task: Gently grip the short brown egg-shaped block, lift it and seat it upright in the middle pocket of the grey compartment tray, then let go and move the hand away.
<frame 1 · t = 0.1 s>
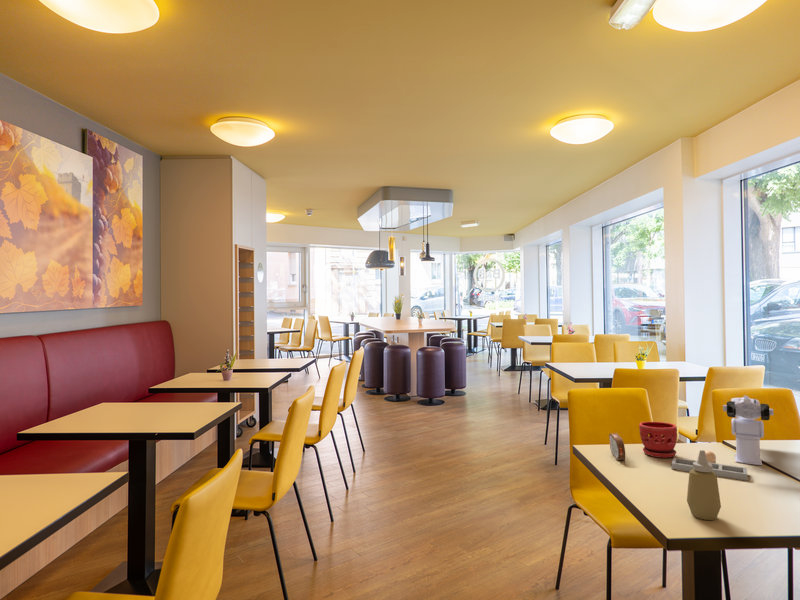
hand: (748, 412, 165), 22 cm above the table, tool horizontal, fingers open, 7 cm apart
plant pot: (658, 455, 190), on the table
tin: (617, 457, 187), on the table
egg: (709, 463, 179), on the table
grey compartment tray: (708, 471, 170), on the table
squeeze bottle: (703, 517, 133), on the table
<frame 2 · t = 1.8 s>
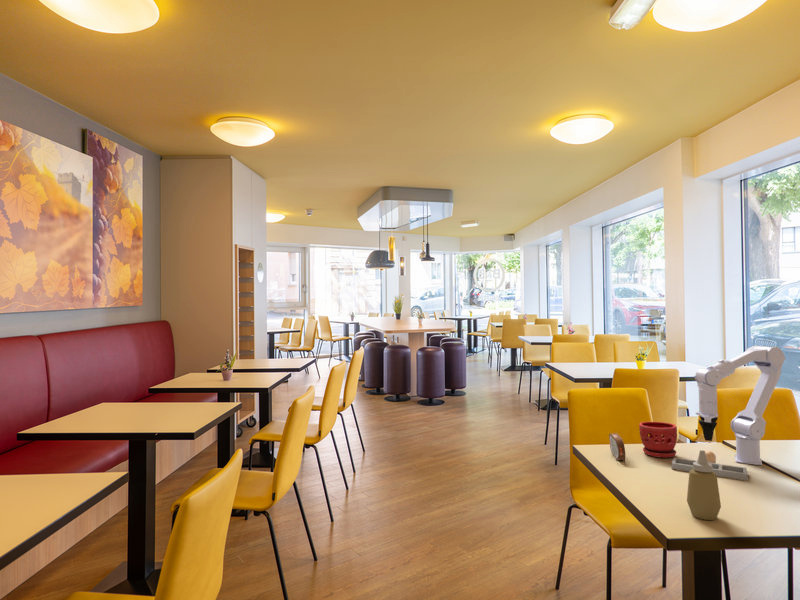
hand: (708, 438, 179), 9 cm above the table, tool pointing down, fingers open, 7 cm apart
nothing on the table moved.
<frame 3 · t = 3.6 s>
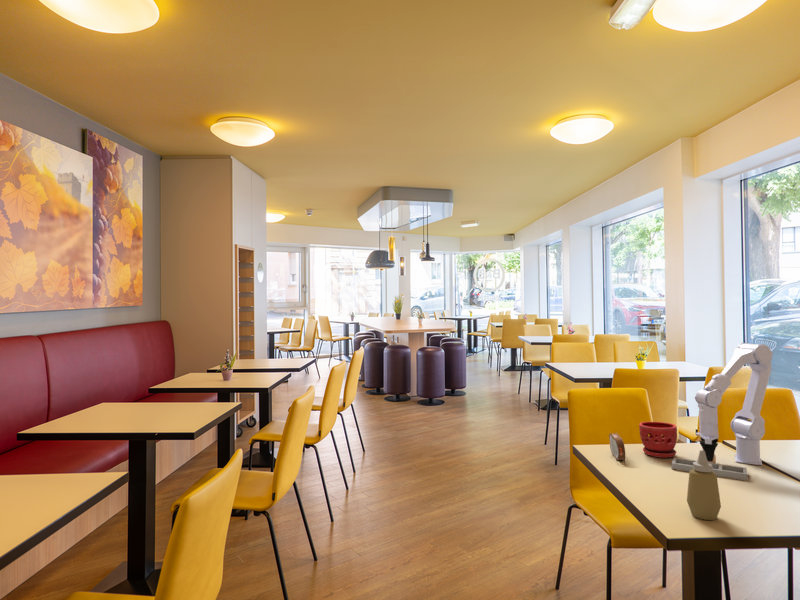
hand: (709, 459, 179), 1 cm above the table, tool pointing down, fingers closed on egg, 4 cm apart
egg: (709, 463, 179), on the table, touching gripper
everything else where it was.
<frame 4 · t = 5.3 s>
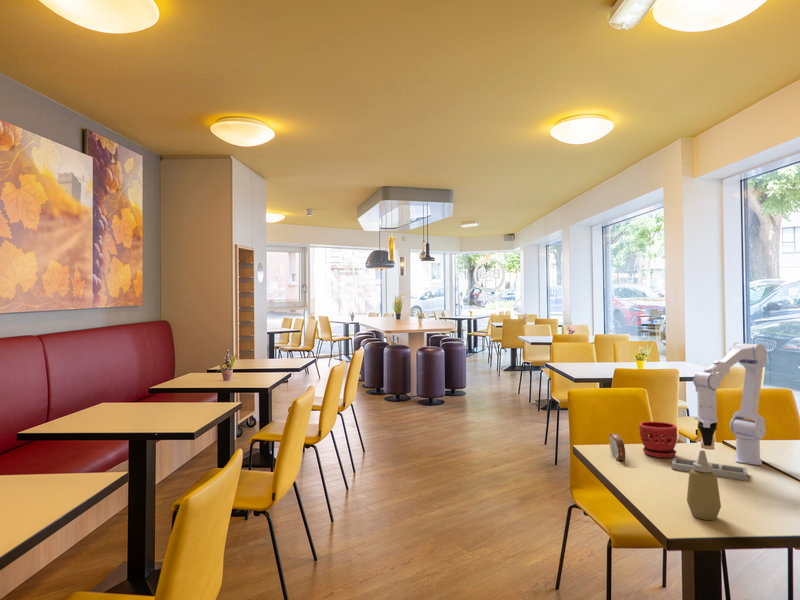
hand: (707, 444, 172), 9 cm above the table, tool pointing down, fingers closed on egg, 4 cm apart
egg: (707, 448, 172), point 8 cm above the table, touching gripper
everything else where it was.
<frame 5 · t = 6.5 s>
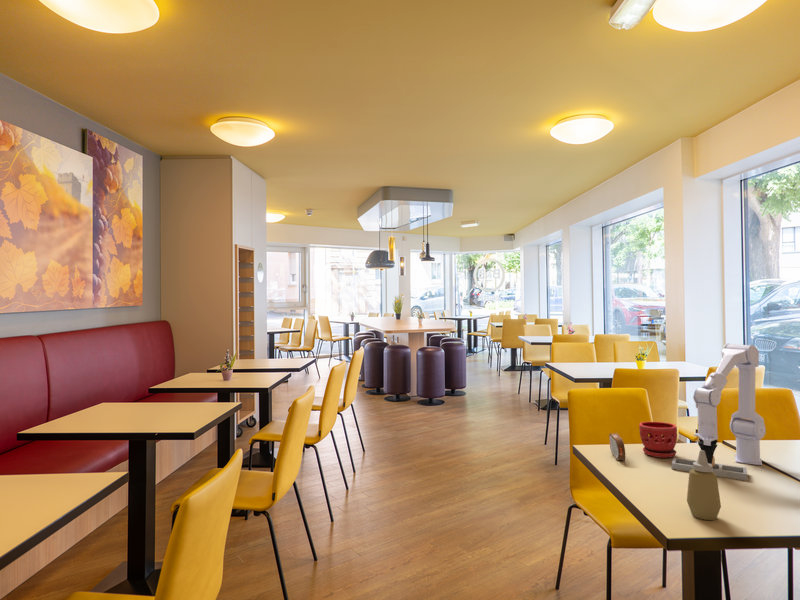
hand: (708, 461, 170), 4 cm above the table, tool pointing down, fingers closed on egg, 4 cm apart
egg: (708, 465, 170), point 2 cm above the table, touching gripper
everything else where it was.
when the fingers open (3 cm above the table, at t = 7.4 s): egg stays where it is, resting on grey compartment tray.
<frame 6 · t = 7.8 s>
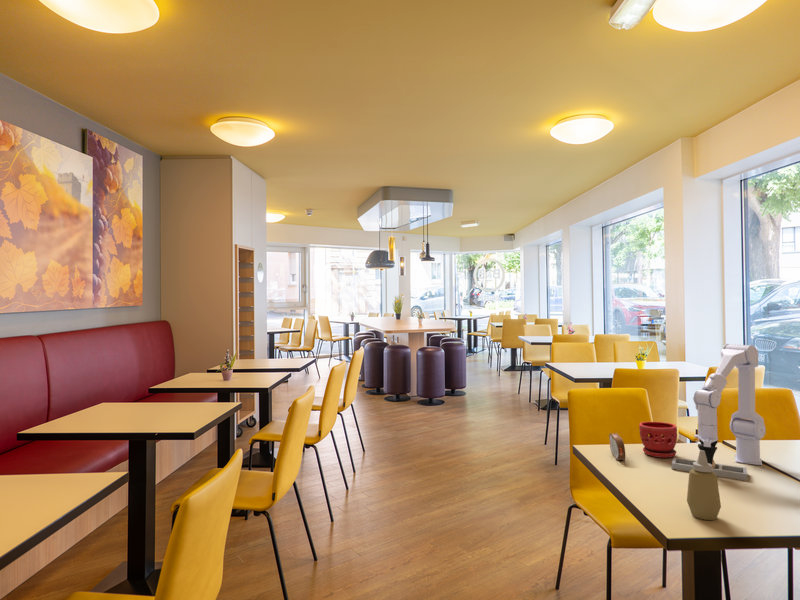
hand: (708, 462, 170), 3 cm above the table, tool pointing down, fingers open, 7 cm apart
egg: (708, 469, 170), point 1 cm above the table, touching grey compartment tray
everything else where it was.
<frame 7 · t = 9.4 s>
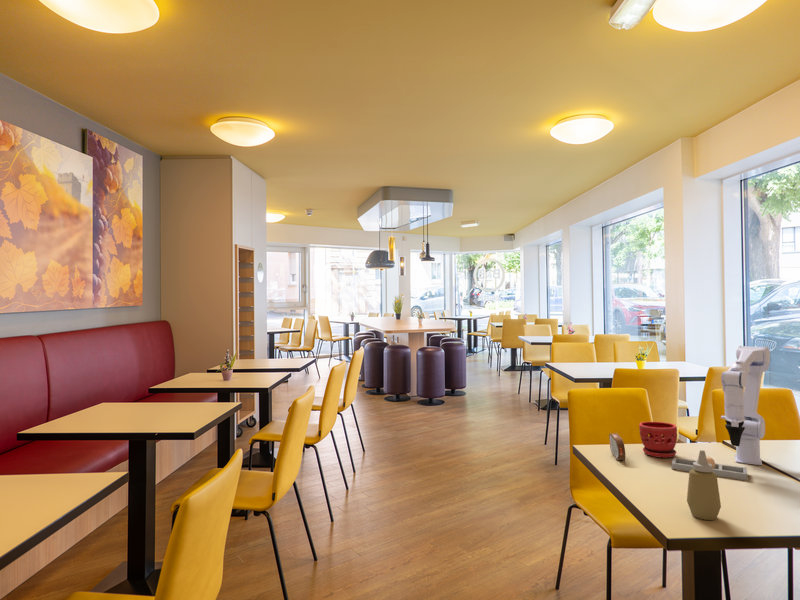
hand: (735, 443, 171), 9 cm above the table, tool pointing down, fingers open, 7 cm apart
nothing on the table moved.
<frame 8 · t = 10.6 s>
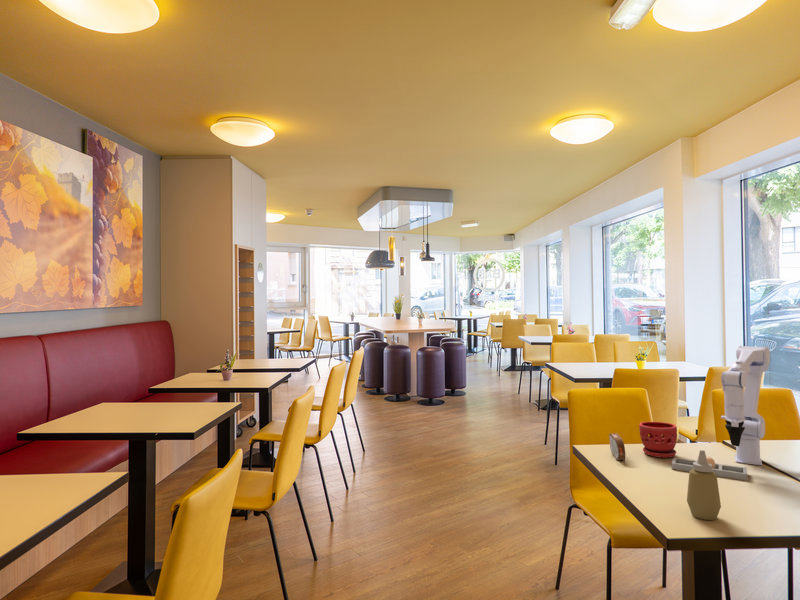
hand: (735, 443, 171), 9 cm above the table, tool pointing down, fingers open, 7 cm apart
nothing on the table moved.
at the end: egg 0.1 cm off-centre on the grey compartment tray, point 0.6 cm above the grey compartment tray's base; egg tilted 0°; the gripper is holding nothing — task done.
